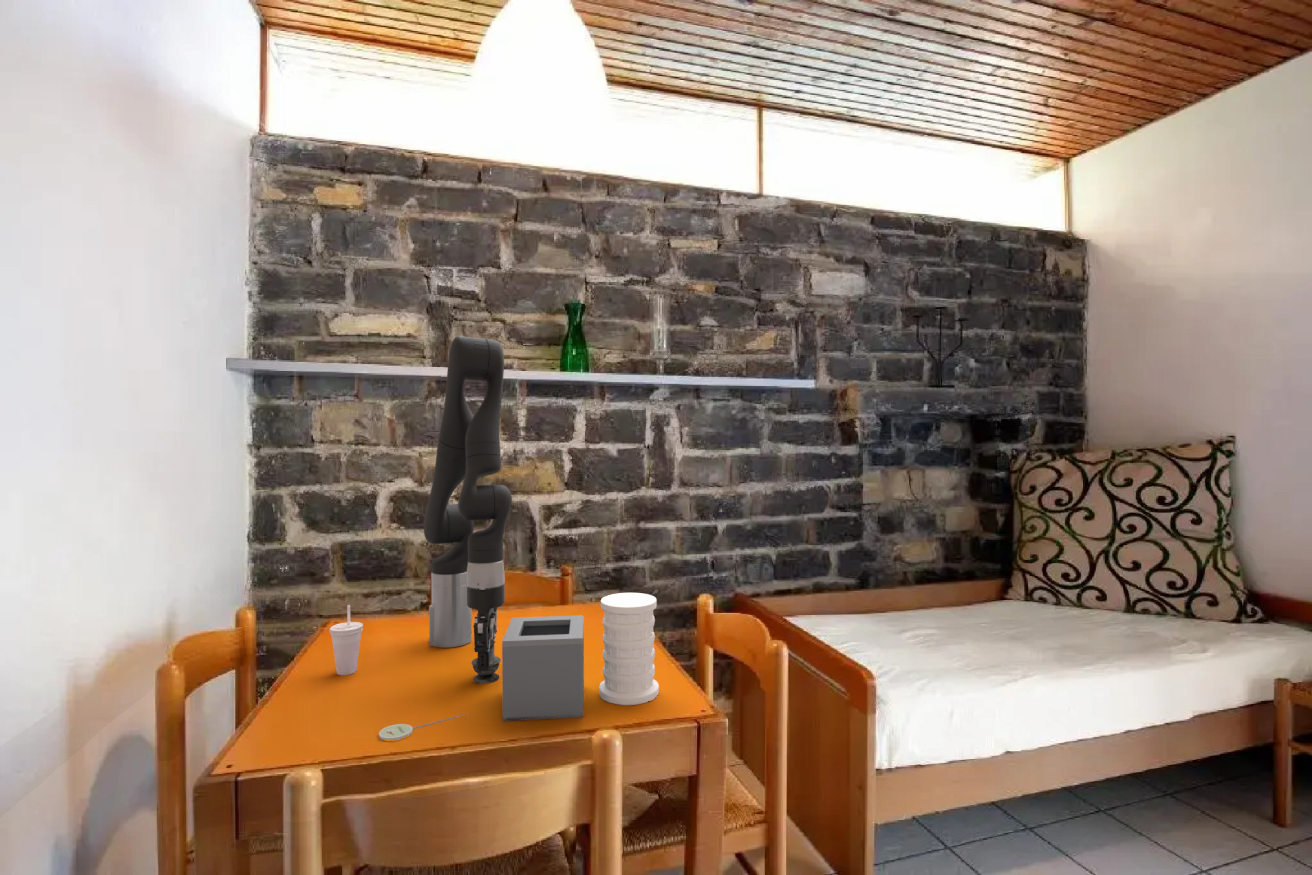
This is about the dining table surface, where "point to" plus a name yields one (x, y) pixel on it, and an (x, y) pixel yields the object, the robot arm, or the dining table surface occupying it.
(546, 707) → the box
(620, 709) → the dining table surface
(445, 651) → the dining table surface
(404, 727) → the sign
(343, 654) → the smoothie
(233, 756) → the dining table surface
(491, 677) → the salt shaker
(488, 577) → the robot arm
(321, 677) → the dining table surface
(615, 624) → the decorative container
